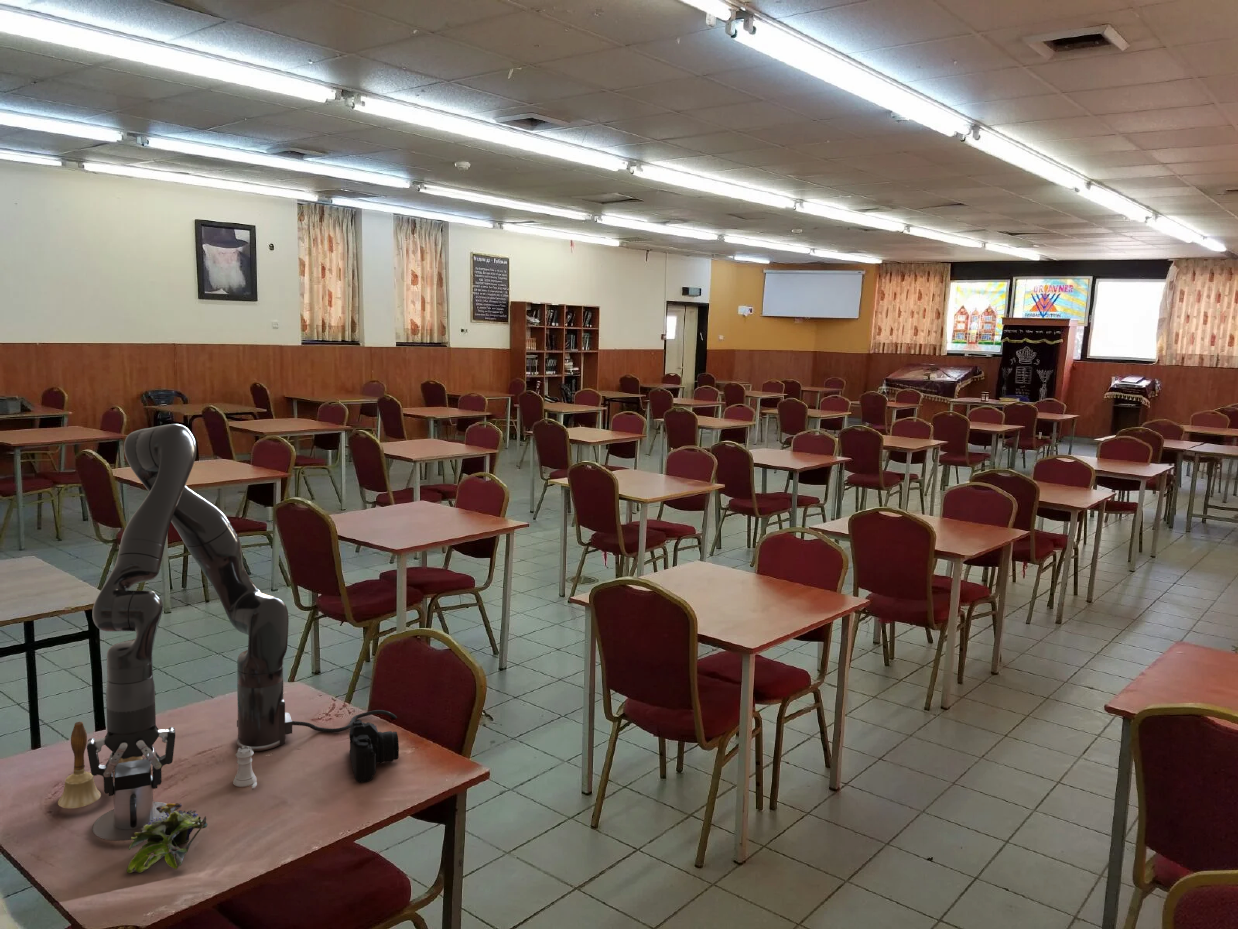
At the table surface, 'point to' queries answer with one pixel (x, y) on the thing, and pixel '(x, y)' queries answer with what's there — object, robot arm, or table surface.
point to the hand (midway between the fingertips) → (133, 790)
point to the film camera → (370, 749)
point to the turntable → (109, 831)
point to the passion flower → (165, 838)
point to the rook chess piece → (245, 769)
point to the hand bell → (79, 775)
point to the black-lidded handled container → (133, 794)
